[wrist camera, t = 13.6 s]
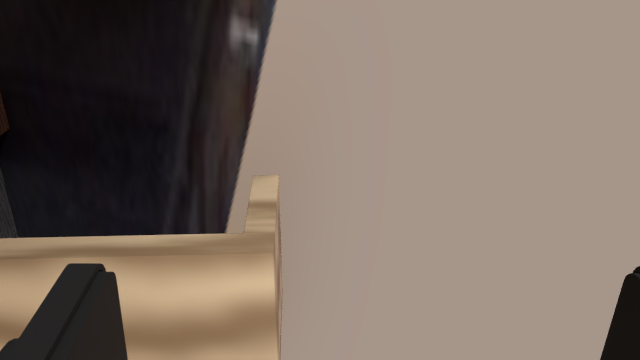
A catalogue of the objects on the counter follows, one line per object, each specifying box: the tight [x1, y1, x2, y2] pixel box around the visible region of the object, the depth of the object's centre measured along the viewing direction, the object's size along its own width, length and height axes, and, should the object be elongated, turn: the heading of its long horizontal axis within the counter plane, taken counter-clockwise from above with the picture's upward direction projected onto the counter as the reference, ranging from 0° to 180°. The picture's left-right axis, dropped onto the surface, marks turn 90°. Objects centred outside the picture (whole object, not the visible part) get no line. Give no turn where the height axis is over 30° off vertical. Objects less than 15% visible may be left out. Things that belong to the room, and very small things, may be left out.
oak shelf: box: [0, 175, 283, 360], centre depth 42 cm, size 11×21×12 cm, turn 90°
